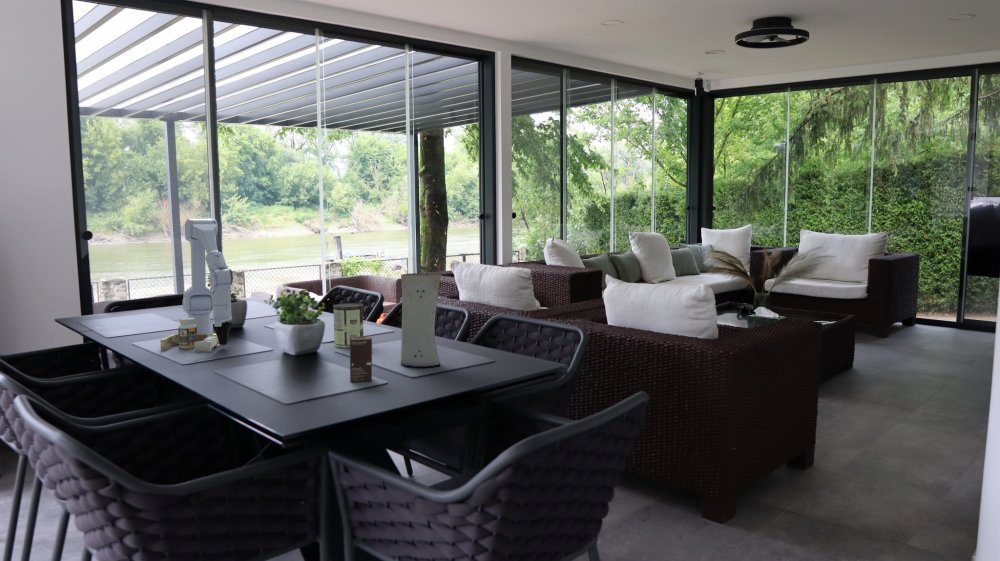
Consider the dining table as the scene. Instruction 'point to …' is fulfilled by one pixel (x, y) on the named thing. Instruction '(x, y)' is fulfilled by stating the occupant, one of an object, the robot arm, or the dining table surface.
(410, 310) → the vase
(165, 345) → the oak jamb corner
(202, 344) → the bracket
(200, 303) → the robot arm
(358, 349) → the box
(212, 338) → the bar
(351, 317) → the coffee can
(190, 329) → the pill bottle
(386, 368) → the dining table surface
